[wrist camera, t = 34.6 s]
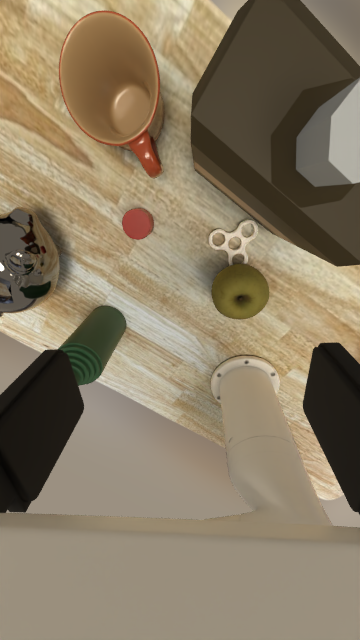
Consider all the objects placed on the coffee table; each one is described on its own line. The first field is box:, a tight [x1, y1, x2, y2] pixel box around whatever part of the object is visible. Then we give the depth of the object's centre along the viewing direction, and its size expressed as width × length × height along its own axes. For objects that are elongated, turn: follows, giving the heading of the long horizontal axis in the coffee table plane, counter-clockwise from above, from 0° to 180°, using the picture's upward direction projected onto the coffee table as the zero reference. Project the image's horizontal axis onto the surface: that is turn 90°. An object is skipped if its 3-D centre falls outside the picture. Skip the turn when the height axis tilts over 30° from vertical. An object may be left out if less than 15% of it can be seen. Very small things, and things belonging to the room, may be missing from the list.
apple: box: [211, 264, 269, 319], centre depth 36 cm, size 8×8×7 cm
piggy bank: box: [0, 207, 62, 317], centre depth 34 cm, size 11×15×12 cm
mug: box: [59, 11, 164, 178], centre depth 27 cm, size 12×9×10 cm
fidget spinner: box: [209, 220, 258, 266], centre depth 36 cm, size 7×6×1 cm
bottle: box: [191, 0, 360, 267], centre depth 21 cm, size 8×16×25 cm, turn 55°
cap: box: [122, 208, 154, 240], centre depth 35 cm, size 4×4×3 cm
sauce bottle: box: [58, 306, 126, 386], centre depth 36 cm, size 6×6×18 cm
